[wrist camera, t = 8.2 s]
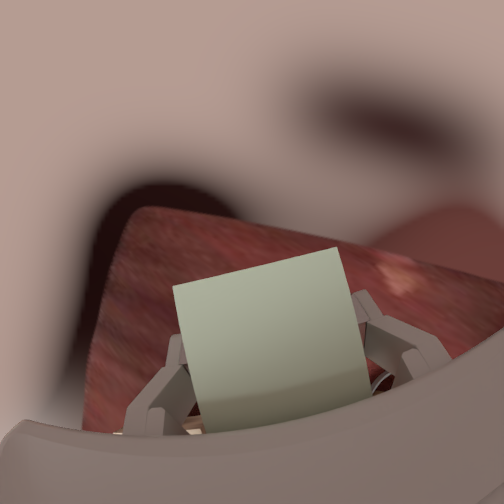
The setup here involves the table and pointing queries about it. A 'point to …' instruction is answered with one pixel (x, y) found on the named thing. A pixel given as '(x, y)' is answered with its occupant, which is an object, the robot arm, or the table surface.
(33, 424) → the robot arm
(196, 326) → the sage block
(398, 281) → the table surface
